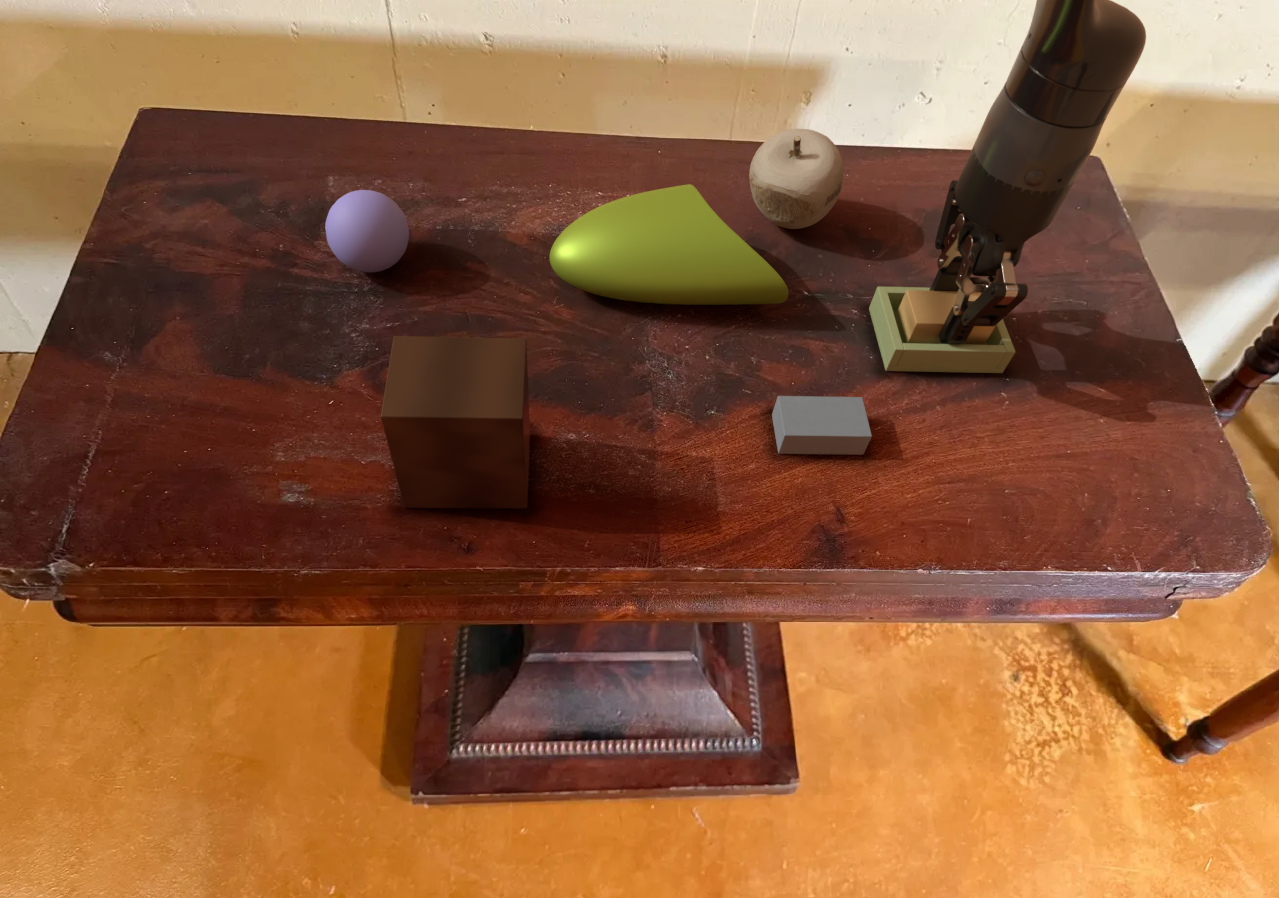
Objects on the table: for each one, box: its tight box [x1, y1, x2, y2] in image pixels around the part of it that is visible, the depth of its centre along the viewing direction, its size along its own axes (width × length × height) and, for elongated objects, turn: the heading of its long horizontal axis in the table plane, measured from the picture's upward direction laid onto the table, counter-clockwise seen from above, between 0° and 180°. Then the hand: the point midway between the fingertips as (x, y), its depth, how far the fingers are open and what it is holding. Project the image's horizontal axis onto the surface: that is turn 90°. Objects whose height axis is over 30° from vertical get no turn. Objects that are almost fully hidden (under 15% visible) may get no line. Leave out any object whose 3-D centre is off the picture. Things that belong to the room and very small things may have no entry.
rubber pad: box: [771, 395, 873, 456], centre depth 71 cm, size 7×4×2 cm, turn 92°
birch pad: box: [898, 290, 996, 345], centre depth 77 cm, size 7×4×2 cm, turn 92°
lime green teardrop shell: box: [549, 183, 789, 306], centre depth 78 cm, size 8×12×20 cm
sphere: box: [324, 189, 410, 273], centre depth 77 cm, size 7×7×7 cm
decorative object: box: [748, 128, 845, 230], centre depth 84 cm, size 9×9×10 cm
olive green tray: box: [868, 285, 1016, 374], centre depth 78 cm, size 11×8×3 cm
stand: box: [380, 335, 531, 510], centre depth 63 cm, size 9×7×11 cm
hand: (943, 320), depth 78 cm, fingers closed on birch pad, 4 cm apart
